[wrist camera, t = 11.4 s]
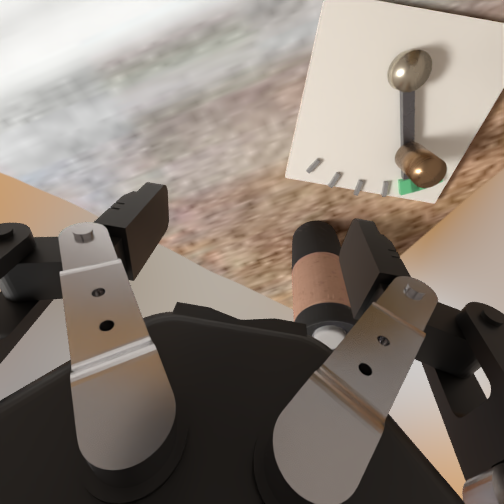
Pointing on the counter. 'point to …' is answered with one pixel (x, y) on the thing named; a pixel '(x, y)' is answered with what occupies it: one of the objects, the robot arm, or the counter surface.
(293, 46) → the counter surface
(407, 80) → the dial lever
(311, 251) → the travel mug
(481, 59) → the square base plate
